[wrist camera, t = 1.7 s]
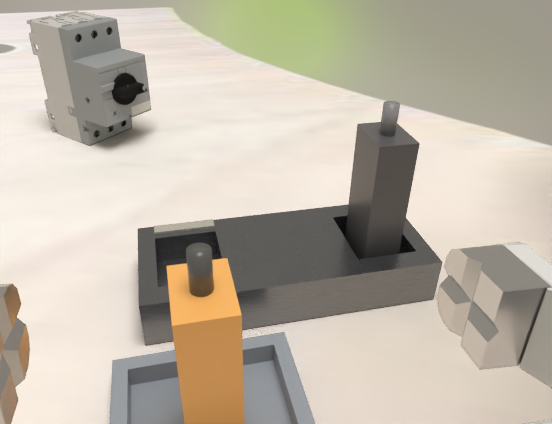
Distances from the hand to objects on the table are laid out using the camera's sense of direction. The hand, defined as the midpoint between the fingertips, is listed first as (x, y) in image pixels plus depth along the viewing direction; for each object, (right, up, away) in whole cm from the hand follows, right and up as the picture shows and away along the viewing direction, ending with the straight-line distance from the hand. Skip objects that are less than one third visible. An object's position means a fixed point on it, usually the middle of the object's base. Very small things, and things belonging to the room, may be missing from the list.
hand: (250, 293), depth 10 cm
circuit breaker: (-23, +12, +61) cm, 66 cm away
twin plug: (+9, -2, +36) cm, 37 cm away
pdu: (+1, -5, +35) cm, 35 cm away
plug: (-3, -12, +22) cm, 25 cm away
